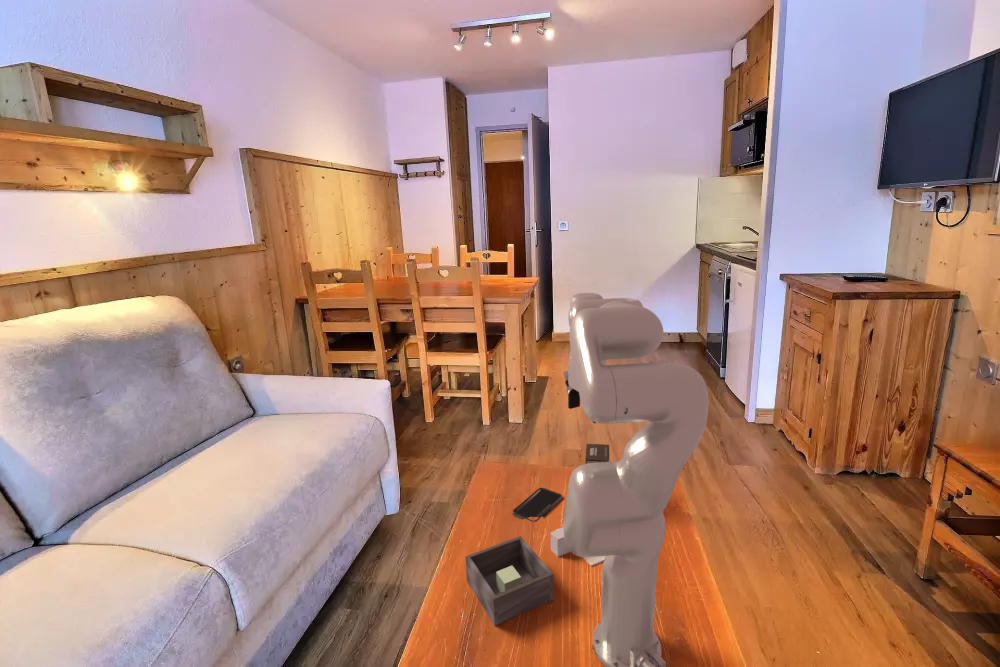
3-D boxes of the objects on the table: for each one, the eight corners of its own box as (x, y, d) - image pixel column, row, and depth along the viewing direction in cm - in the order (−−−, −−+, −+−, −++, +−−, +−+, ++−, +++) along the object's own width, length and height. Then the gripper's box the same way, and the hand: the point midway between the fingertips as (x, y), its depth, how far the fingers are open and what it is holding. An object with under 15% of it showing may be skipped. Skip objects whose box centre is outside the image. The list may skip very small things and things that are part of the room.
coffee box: (585, 492, 143) (586, 442, 139) (608, 494, 142) (609, 444, 138) (584, 511, 135) (585, 458, 131) (608, 513, 133) (609, 460, 129)
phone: (510, 512, 134) (540, 486, 146) (511, 515, 135) (540, 490, 146) (534, 522, 130) (563, 495, 141) (535, 526, 130) (563, 498, 142)
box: (553, 601, 105) (553, 573, 103) (494, 628, 99) (493, 599, 97) (521, 561, 117) (520, 535, 115) (467, 582, 111) (465, 556, 109)
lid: (611, 559, 117) (612, 538, 116) (559, 582, 111) (559, 559, 109) (575, 525, 130) (575, 505, 128) (526, 544, 124) (526, 523, 122)
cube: (521, 592, 107) (521, 576, 106) (505, 599, 105) (504, 583, 104) (512, 580, 110) (512, 565, 109) (496, 587, 109) (496, 571, 107)
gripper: (624, 353, 109) (621, 424, 113) (577, 336, 124) (577, 399, 128) (596, 358, 106) (595, 431, 110) (552, 340, 121) (553, 405, 125)
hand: (585, 414), depth 119 cm, fingers open, 9 cm apart
